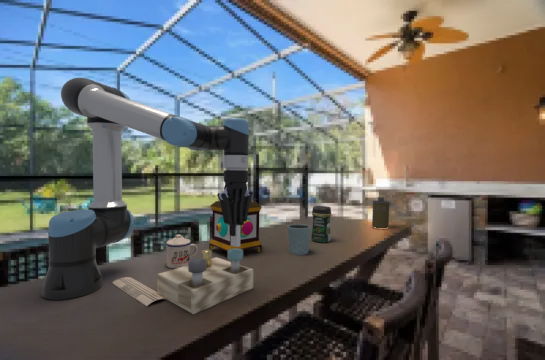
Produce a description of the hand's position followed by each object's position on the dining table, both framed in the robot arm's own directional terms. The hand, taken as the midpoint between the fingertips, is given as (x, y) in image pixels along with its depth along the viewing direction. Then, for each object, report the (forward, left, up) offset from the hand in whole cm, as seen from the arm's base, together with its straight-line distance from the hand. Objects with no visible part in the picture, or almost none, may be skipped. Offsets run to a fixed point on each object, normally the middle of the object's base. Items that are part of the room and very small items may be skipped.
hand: (235, 245), depth 90 cm
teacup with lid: (+2, +32, -14) cm, 35 cm away
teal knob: (0, 0, -8) cm, 8 cm away
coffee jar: (+71, +11, -14) cm, 73 cm away
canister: (+128, 0, -14) cm, 129 cm away
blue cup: (+46, +8, -14) cm, 49 cm away
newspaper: (-21, +20, -14) cm, 33 cm away
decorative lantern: (+28, +30, -14) cm, 43 cm away
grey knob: (-14, 0, -8) cm, 16 cm away
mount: (-7, +5, -13) cm, 16 cm away
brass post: (-4, +9, -7) cm, 12 cm away
